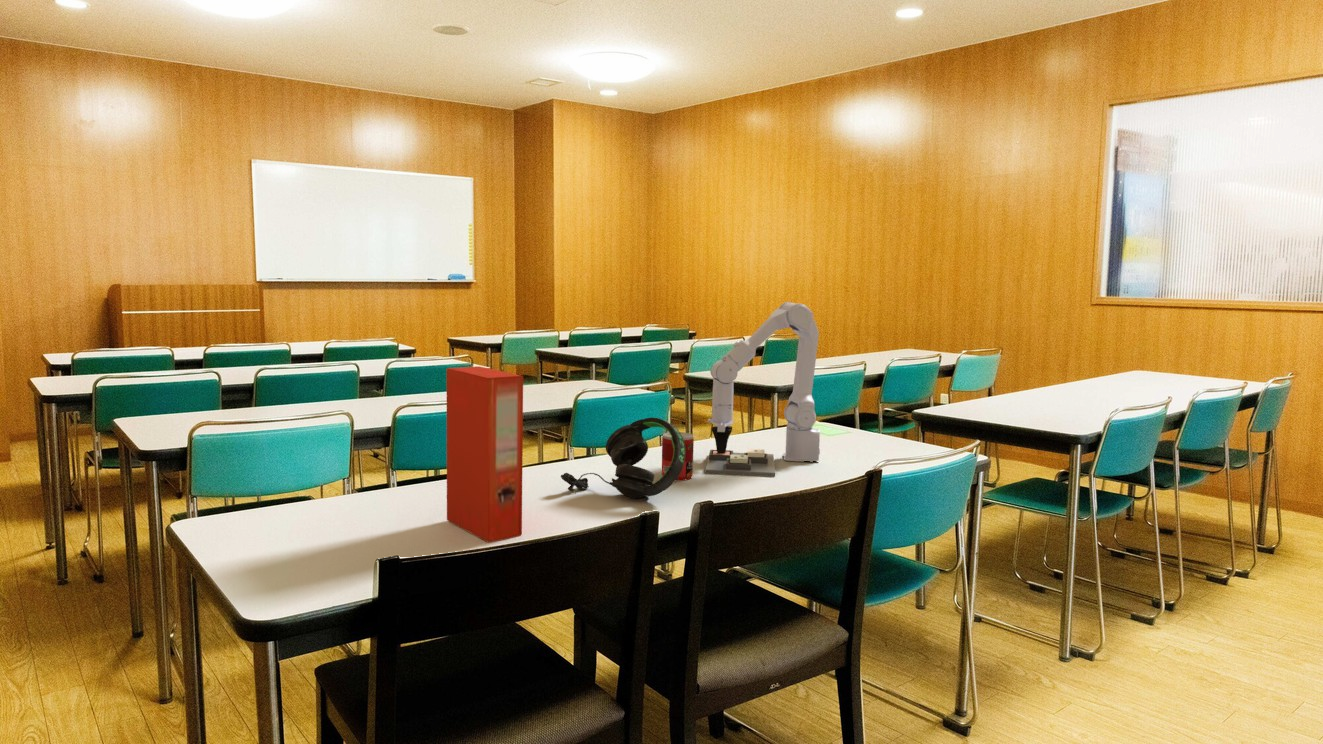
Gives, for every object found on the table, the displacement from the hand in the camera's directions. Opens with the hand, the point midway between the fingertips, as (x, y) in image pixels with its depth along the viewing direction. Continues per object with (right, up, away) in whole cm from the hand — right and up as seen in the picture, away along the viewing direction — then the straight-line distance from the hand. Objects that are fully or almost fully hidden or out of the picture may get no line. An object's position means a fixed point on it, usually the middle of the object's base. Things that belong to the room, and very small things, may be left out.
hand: (721, 452), depth 237 cm
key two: (+4, -1, -10) cm, 11 cm away
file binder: (-53, -10, -63) cm, 83 cm away
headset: (-25, -7, -38) cm, 46 cm away
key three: (0, -1, 0) cm, 1 cm away
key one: (+9, 0, -3) cm, 10 cm away
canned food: (-13, -5, -18) cm, 23 cm away
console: (+5, -3, -4) cm, 7 cm away
